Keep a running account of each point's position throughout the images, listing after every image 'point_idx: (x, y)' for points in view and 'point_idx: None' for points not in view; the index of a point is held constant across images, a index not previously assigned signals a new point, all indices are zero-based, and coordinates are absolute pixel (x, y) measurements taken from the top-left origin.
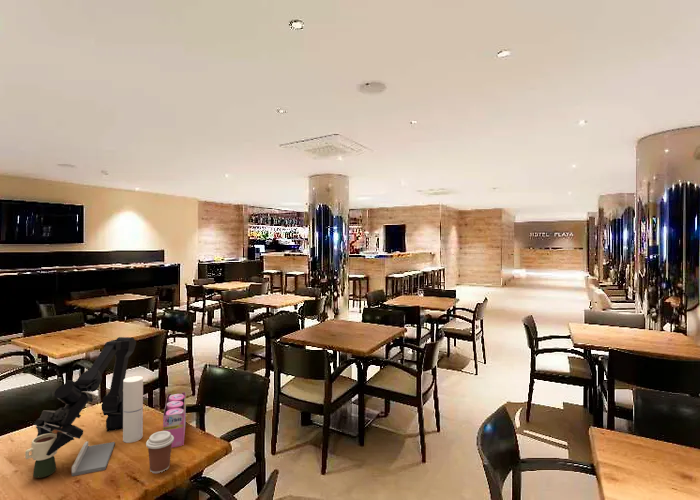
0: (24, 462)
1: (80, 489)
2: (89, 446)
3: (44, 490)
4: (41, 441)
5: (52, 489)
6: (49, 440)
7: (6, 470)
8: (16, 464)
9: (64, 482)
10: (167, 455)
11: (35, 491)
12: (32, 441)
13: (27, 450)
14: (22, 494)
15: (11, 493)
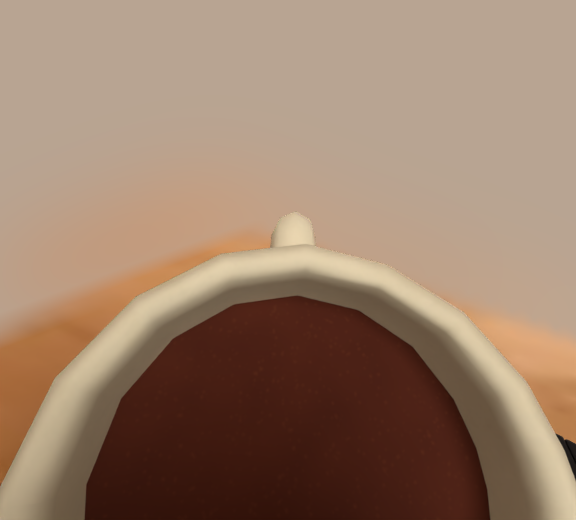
0: (564, 437)
1: None
2: None
3: (69, 341)
4: (358, 445)
5: (22, 372)
6: (5, 506)
7: (527, 330)
8: (569, 394)
9: (9, 465)
10: None
11: (117, 309)
12: (360, 263)
13: (283, 222)
14: (163, 263)
15: (232, 243)
